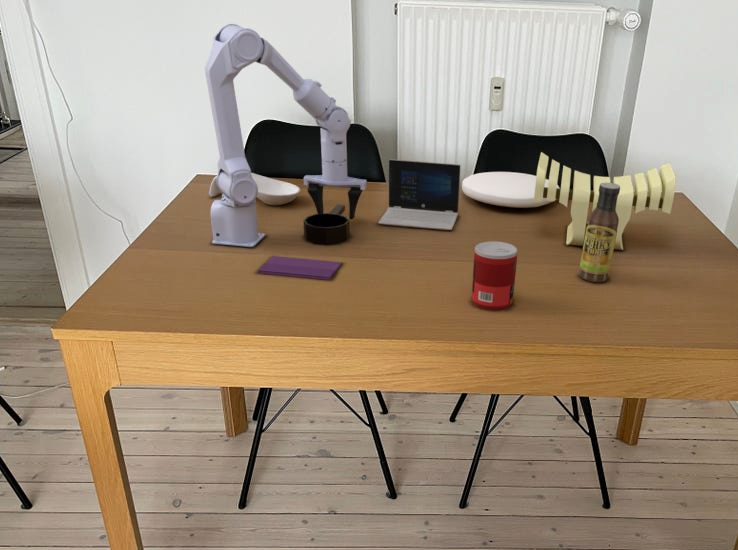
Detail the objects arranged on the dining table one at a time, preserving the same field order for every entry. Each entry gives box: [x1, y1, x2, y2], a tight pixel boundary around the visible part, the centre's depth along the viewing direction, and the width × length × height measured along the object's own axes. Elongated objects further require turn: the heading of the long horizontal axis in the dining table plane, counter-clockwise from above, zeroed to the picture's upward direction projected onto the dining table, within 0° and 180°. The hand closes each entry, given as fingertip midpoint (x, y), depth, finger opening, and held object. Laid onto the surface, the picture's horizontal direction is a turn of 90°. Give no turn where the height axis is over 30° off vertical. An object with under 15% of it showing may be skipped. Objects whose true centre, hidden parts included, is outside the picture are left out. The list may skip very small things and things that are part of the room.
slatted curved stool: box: [534, 151, 677, 251], centre depth 169 cm, size 30×16×18 cm, turn 80°
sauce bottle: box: [578, 182, 620, 283], centre depth 148 cm, size 6×6×20 cm
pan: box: [302, 204, 351, 246], centre depth 170 cm, size 17×10×4 cm, turn 172°
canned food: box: [471, 241, 518, 311], centre depth 137 cm, size 8×8×11 cm
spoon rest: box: [208, 172, 301, 206], centre depth 187 cm, size 24×12×7 cm, turn 80°
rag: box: [257, 255, 343, 281], centre depth 150 cm, size 15×9×1 cm, turn 82°
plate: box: [461, 171, 561, 209], centre depth 198 cm, size 28×6×27 cm
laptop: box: [377, 158, 461, 231], centre depth 177 cm, size 18×12×13 cm
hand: (336, 216), depth 173 cm, fingers open, 7 cm apart
